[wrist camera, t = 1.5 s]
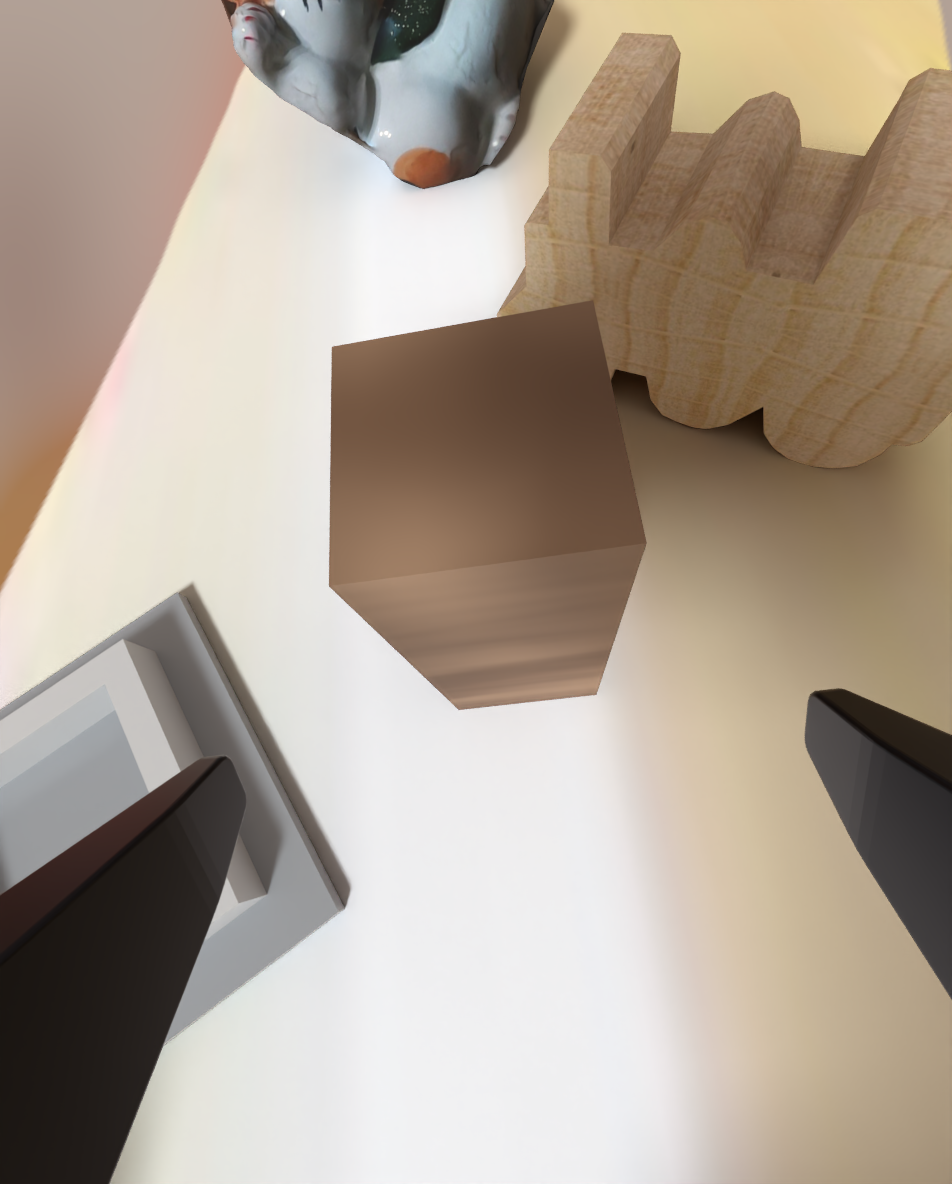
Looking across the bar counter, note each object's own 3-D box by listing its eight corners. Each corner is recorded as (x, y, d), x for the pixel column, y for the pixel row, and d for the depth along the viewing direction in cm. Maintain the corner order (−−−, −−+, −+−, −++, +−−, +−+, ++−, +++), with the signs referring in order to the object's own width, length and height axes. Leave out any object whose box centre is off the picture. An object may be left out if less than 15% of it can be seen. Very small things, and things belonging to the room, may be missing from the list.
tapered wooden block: (596, 694, 20) (646, 543, 8) (458, 709, 21) (329, 586, 9) (575, 567, 22) (593, 300, 10) (449, 584, 22) (331, 346, 11)
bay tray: (345, 908, 19) (315, 922, 16) (-34, 1194, 17) (-122, 1252, 15) (186, 597, 24) (147, 575, 22) (-116, 799, 22) (-191, 798, 20)
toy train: (551, 288, 27) (547, 22, 18) (941, 383, 23) (1207, 90, 13) (502, 374, 26) (470, 134, 17) (908, 495, 21) (1180, 254, 12)
